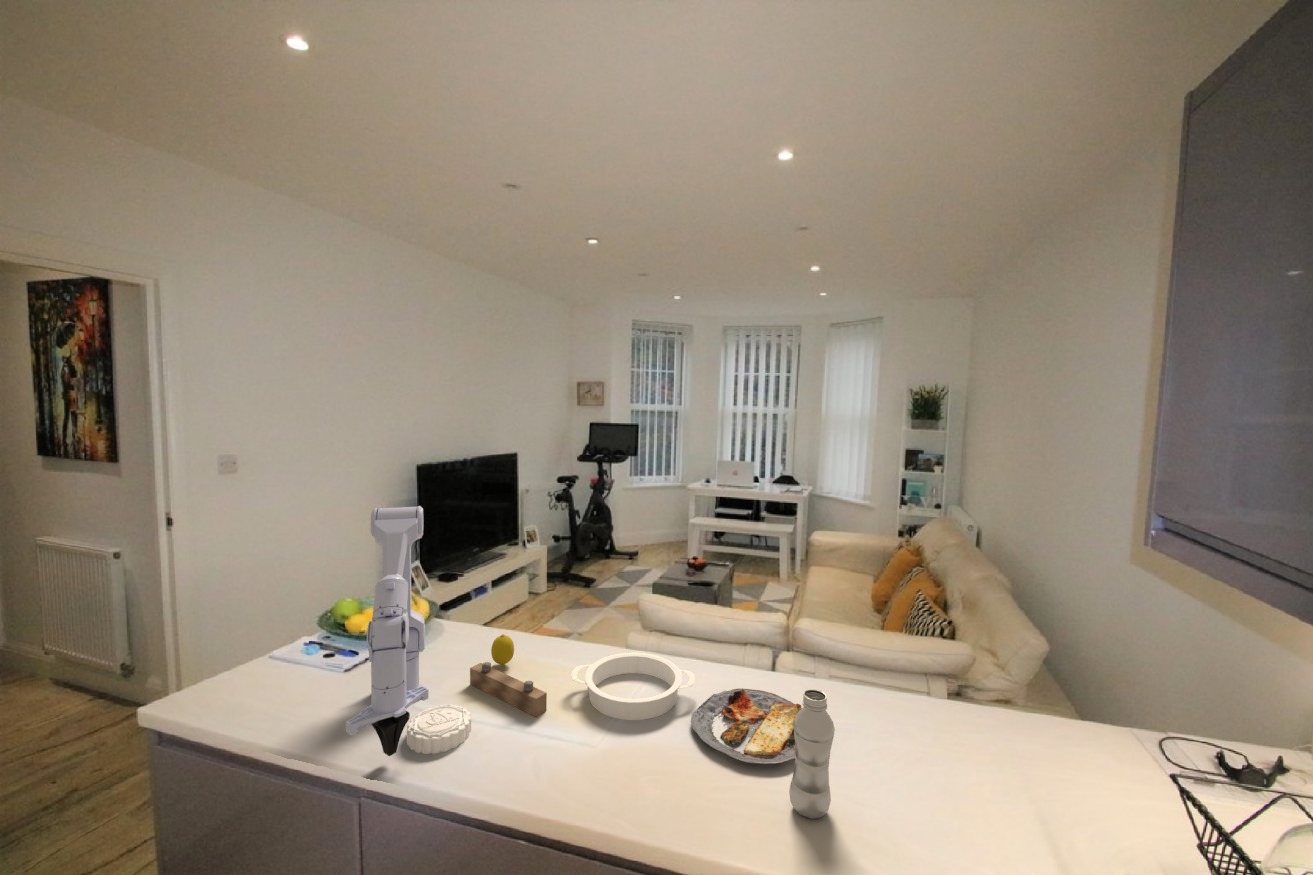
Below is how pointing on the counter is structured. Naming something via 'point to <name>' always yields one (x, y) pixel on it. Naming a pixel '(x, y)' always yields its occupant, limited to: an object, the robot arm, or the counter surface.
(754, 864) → the counter surface
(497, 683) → the bar
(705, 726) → the food plate
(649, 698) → the pot
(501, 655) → the lemon
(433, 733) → the mooncake
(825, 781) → the plastic bottle
